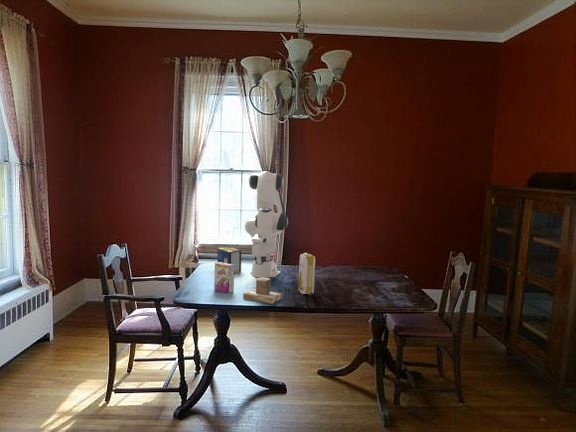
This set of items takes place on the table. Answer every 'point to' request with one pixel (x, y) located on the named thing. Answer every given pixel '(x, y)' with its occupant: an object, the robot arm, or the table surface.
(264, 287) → the walnut block
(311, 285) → the juice carton
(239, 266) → the protein box
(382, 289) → the table surface
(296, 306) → the table surface
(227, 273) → the candy bar box
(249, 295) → the plinth
